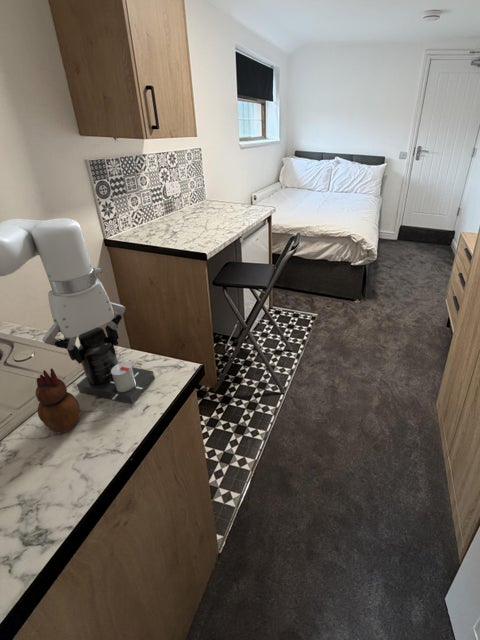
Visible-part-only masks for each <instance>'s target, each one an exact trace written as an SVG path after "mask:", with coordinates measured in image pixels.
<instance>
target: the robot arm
mask: <svg viewBox="0 0 480 640" xmlns="http://www.w3.org/2000/svg"><path fill="white" fill-rule="evenodd" d="M37 256H39V258H40V260H41V263H42V265H43V268H44V271H45V274H46V276H47V279H48V282H49V285H50V287H51V290H49V291H48V293H47V297H48V304H49V309H50V313H51V318H52V321H53V324H52V325H51V327H50V328H49V329H48V330H47V332H46V333H45V335H44V336H43V337H42V341H43V343H44V344H47V345H50V346H55V347H57V348H60V349H66V351H67V353H68V356H69V359H70V360H71V361H76V362H77V363H78V365H79V364H81V363H82V361H83V360H82V358H81V355H80V352H79V349H78V348H79V346H77V345H76V342H77V339H78V337H79V335H81V334H83V333H86V332H88V331H90V330H93V329H95V328H97V327H99V328H100V327H101V326H104V325H106V326H105V332H106V337H108V338H110V339H111V340H112V342H113V345H114V346H118V345H119V342H118V340H119V339H120V337H119V334H118V328H119V323H120V322H121V321H122V319H123V316H124V313H125V311H126V310H127V308H126V306H124V305H122V304H119V303H115V302H111V300H110V297H109V295H108V293H107V291H106V289H105V287H104V285H103V283H102V282H101V280H100V279H99V278H98V277H97V276H99V274H102V269H101V268H100V267H99V266H98V267H93V265H92V261H91V258H90V255H89V251H88V247H87V245H86V241H85V237H84V233H83V230H82V228H81V224H79V222H77V220H75V219H73V218H63V217H61V218H60V217H59V218H51V219H46V220H41V219H30V218H29V219H28V218H10V219H5V220H3V221H1V222H0V278H1V277H7V276H9V275H13V274H14V273H16V272H17V271H18V270H19V269H21V268H22V267H23V266H24V265H26V263H27V262H28V261H30V260H31V259H34V258H35V257H37ZM114 311H115V312H114ZM59 333H61V334H62V336H63V338H62V339H61V338H57V337H56V336H58V334H59Z"/></svg>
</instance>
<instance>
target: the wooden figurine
mask: <svg viewBox="0 0 480 640" xmlns="http://www.w3.org/2000/svg"><path fill="white" fill-rule="evenodd" d="M42 373H43V374H40V375H39V376H38V377H37V378H36V386H37V387H36V389H35V397H36V400H37V401H38V406H37V415H38V418H39V420H40V421H41V422H42V424H44V426H45V427H46V428H47V429H49V430H51V431H52V432H53V433H57V434H60V433H61V434H62V433H66V432H68V431H70V430H72V429H73V428H75V427H76V426H77V424H78V422H79V421H80V416H81V406H80V402H79V401H78V399H77V398H76V397H75V396H74V395H73V393H70V392H68V389H67V386H66V384H65V382H64V381H63V380H62V379H60V378H58V377H57V373H56V372H55V370H54V368H50V375H49V374H48V372H47V371H46V370H42Z"/></svg>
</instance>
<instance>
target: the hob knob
mask: <svg viewBox="0 0 480 640" xmlns="http://www.w3.org/2000/svg"><path fill="white" fill-rule="evenodd" d="M132 367H133V366H132V364H131V363H130V362H127V361H125V362H124V361H123V362H119V364H117V365H115V366H114V367H113V368H112V370H111V374H112V377H113V380H114V383H115V386H116V389H117V391H119V392H126V391H129V390H131V389H132V388H133V387H134V386H135V384H136V381H135V377H134V373H133V370H132Z"/></svg>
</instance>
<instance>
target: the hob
mask: <svg viewBox="0 0 480 640" xmlns="http://www.w3.org/2000/svg"><path fill="white" fill-rule="evenodd" d="M132 370H133V373H134V377H135V381H136V384H135V386H134V387H133V388H132V389H131V390H129V391H126V392H119V391H117V389H116V386H115V383H114V380H111V381H109V382H107V383H104V384H99V385H95V384H91V383H90V382H89V381H88V380H87V378H86V376H85V377H84V378H83V379H81V381H79V382H78V383H77V384H76V387H77V389H78V392H79V394H83V395H88V396H92V397H96V398H101V399H106V400H110V401H115V402H119V403H124V404H128V405H134V404H135V403H136V401H137V400H138V399H139V398H140V397H141V396H142V395H143V393H144V392H145V391H147V389H148V388H149V387H150V385H152V383H154V381H155V379H156V378H155V373H154V371H153V370H148V369H144V368H138V367H133V366H132Z"/></svg>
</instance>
